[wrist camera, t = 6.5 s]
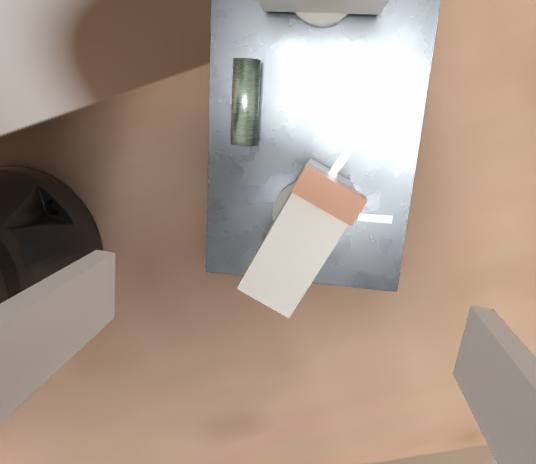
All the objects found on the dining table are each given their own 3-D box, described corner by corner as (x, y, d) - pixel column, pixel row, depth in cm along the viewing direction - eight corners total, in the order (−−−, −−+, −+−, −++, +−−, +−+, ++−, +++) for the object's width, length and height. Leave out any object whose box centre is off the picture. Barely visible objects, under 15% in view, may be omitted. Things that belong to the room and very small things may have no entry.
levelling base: (212, 264, 38) (199, 280, 34) (220, -99, 30) (205, -131, 26) (393, 282, 36) (401, 302, 32) (449, -99, 28) (468, -133, 25)
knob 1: (306, 267, 35) (298, 328, 24) (254, 237, 34) (224, 286, 24) (361, 179, 32) (377, 207, 22) (305, 147, 32) (295, 159, 22)
